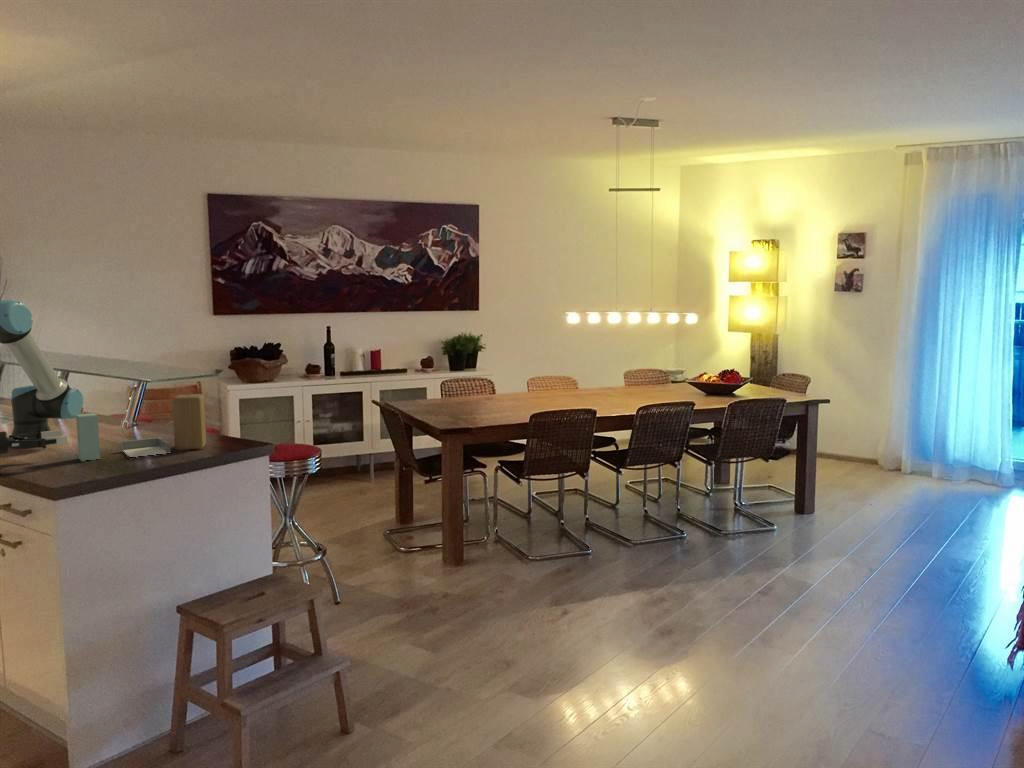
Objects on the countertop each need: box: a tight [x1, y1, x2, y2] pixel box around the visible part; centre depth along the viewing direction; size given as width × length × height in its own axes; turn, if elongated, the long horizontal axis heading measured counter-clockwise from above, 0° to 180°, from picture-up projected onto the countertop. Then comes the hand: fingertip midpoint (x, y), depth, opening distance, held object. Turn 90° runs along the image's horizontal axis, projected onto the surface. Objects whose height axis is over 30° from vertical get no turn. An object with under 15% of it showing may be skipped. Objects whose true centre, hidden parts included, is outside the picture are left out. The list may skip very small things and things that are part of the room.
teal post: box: [75, 412, 101, 462], centre depth 304 cm, size 6×6×16 cm
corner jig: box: [121, 436, 171, 458], centre depth 316 cm, size 14×14×4 cm
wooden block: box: [171, 393, 207, 451], centre depth 324 cm, size 10×10×20 cm
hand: (64, 436), depth 300 cm, fingers open, 13 cm apart
